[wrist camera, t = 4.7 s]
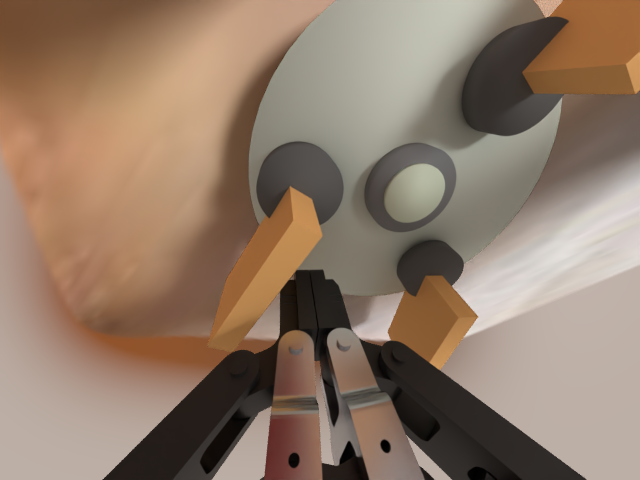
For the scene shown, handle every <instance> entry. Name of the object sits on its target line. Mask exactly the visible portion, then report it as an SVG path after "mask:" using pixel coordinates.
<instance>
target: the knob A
mask: <svg viewBox="0 0 640 480" xmlns="http://www.w3.org/2000/svg"><path fill="white" fill-rule="evenodd" d="M343 191H344V185H343V178H342V175H341V172H340V170H339V168H338V167H337V165H336V164H335V162H334V161H333V160H332V158H331V157H330V156H329V155H328V154H327V153H326V152H325V151H324V150H323V149H321V148H320V147H318V146H316V145H314V144H311V143H308V142H302V141H295V142H289V143H285V144H283V145H280V146H278V147H277V148H275V149H274V150H273V151H272V152H270V153H269V154H268V156H267V157H266V158H265V160H264V161H263V163H262V165H261V168H260V171H259V175H258V179H257V185H256V193H257V199H258V202H259V204H260V207H261V209H262V210H263V212H264V213H265V214H266V216H265V217H264V219H263V221H262V222H261V224H260V226H259V227H258V229H257V230H256V232H255V234H254V235H253V237H252V239H251V240H250V242H249V243H248V245H247V247H246V248H245V250H244V251H243V253H242V255H241V256H240V258H239V260H238V261H237V263H236V264H235V266H234V268H233V269H232V271H231V273H230V274H229V276H228V277H227V279H226V282H225V286H224V289H223V293H222V296H221V300H220V303H219V307H218V310H217V314H216V317H215V321H214V324H213V328H212V331H211V334H210V338H209V341H208V345H207V347H210V348H214V349H219V350H223V351H228V352H233V351H234V350H235V349H236V347H237V346H238V345H239V343H240V342H241V341H242V340H243V338H244V337H245V336H246V334H247V333H248V332H249V331H250V329H251V328H252V327H253V325H254V324H255V323H256V322H257V320H258V319H259V318H260V316H261V315H262V314H263V312H264V311H265V310H266V309H267V307H268V306H269V305H270V303H271V302H272V301H273V300H274V298H275V297H276V296H277V294H278V293H279V292H280V291H281V289H282V288H283V287H284V285H285V284H286V283H287V281H288V280H289V279H290V278H291V276H292V275H293V274H294V272H295V271H296V270H297V269H298V267H299V266H300V265H301V263H302V262H303V261H304V259H305V258H306V257H307V256H308V254H309V253H310V252H311V250H312V249H313V248H314V247H315V245H316V244H317V243H318V241H319V240H320V239H321V237H322V236H323V235H322V232H321V228H320V225H322V224H324V223H325V222H326V221H328V220H329V219H330V218H331V217H332V216H333V215H334V214H335V213H336V211H337V210H338V208H339V206H340V204H341V201H342V198H343Z"/></svg>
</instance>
